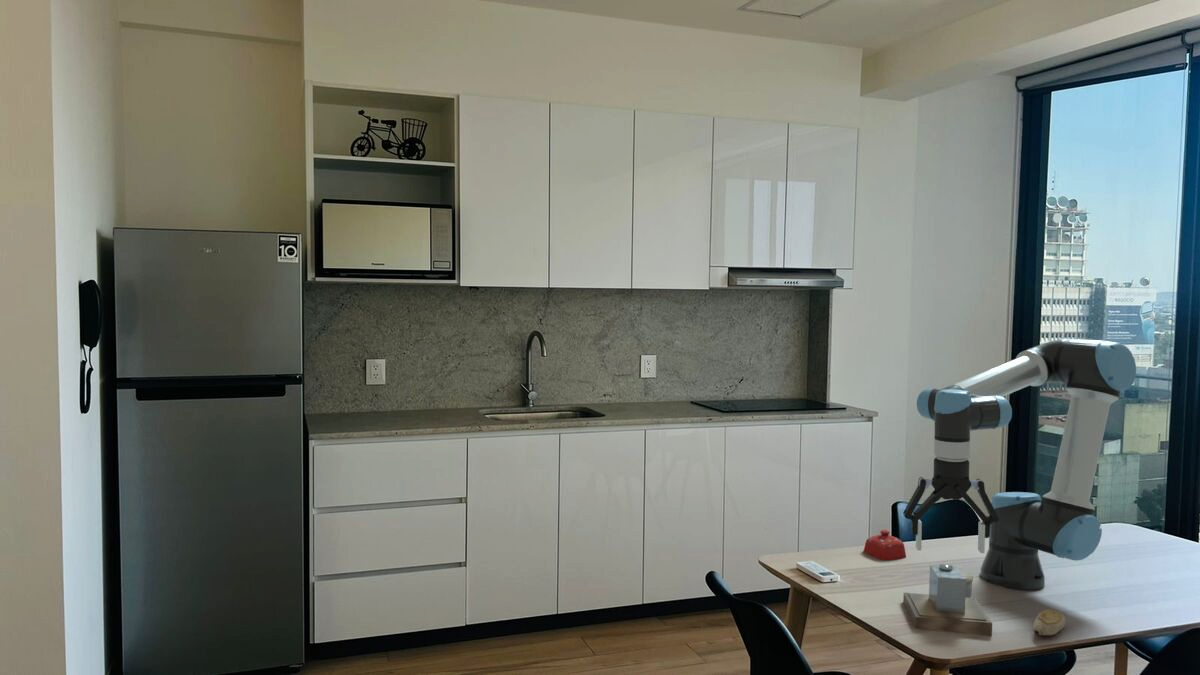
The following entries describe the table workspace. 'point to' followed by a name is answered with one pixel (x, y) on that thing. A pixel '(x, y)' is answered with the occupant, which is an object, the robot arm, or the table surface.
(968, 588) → the slate ceramic salt pot
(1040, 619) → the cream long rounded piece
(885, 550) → the butter dish
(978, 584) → the table surface
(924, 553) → the table surface
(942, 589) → the grey knobbed box
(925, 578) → the table surface
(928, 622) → the walnut riser
